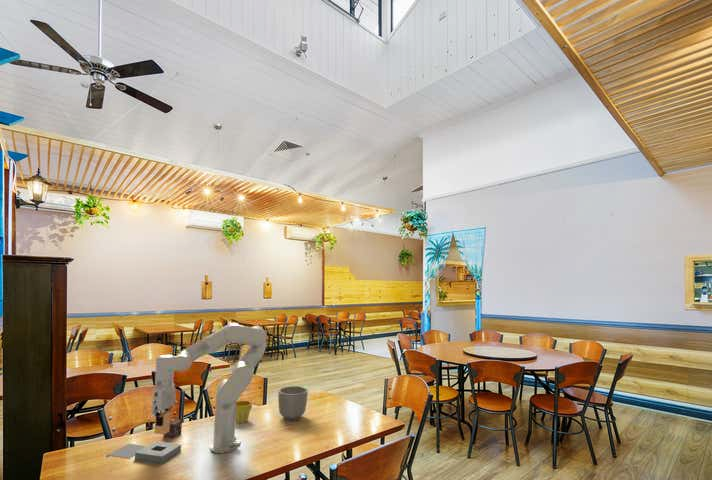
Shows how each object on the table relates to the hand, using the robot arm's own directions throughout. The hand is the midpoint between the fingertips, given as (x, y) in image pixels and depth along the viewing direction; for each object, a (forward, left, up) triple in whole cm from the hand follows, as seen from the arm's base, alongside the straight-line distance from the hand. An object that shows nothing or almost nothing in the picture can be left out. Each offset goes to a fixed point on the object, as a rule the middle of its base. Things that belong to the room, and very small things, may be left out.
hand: (162, 423), depth 168 cm
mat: (+17, 0, -14) cm, 22 cm away
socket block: (+1, 0, -14) cm, 14 cm away
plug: (0, 0, -4) cm, 4 cm away
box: (+10, -20, -15) cm, 26 cm away
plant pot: (-13, -48, -15) cm, 51 cm away
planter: (-39, -60, -15) cm, 73 cm away
